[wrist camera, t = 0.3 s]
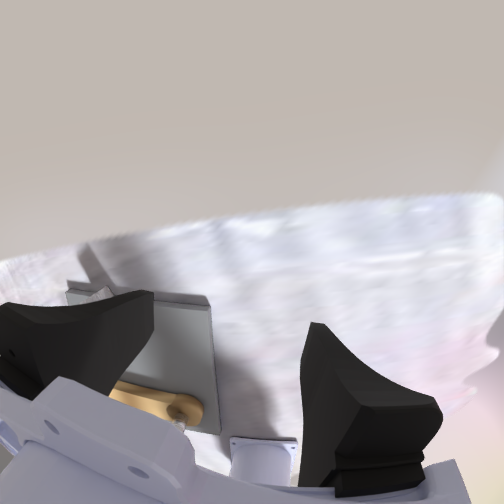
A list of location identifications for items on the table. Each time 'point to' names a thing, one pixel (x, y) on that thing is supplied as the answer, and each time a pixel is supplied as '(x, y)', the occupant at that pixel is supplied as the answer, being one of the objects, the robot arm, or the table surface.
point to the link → (158, 402)
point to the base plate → (176, 357)
